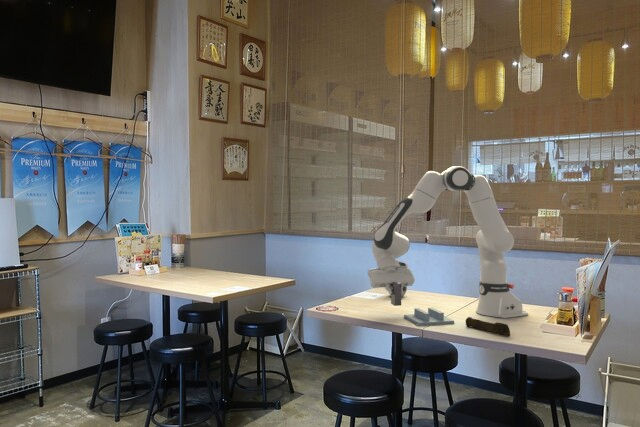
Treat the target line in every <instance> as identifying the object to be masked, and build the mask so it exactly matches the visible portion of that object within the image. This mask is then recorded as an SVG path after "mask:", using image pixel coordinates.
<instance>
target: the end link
mask: <svg viewBox="0 0 640 427" xmlns="http://www.w3.org/2000/svg"><path fill="white" fill-rule="evenodd" d="M391 289H393V291H394V294H393V295H390V304H391V305H393V306H395V307H398V306H402V297H401V283H400V282H392V283H391Z"/></svg>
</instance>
